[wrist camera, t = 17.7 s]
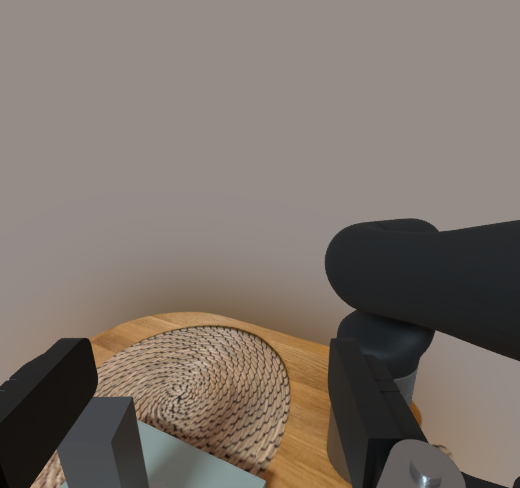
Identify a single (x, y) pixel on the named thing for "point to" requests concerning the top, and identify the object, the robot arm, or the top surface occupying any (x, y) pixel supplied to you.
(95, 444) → the grey pillar on base
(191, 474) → the board
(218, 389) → the top surface
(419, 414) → the top surface
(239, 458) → the top surface
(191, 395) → the top surface
